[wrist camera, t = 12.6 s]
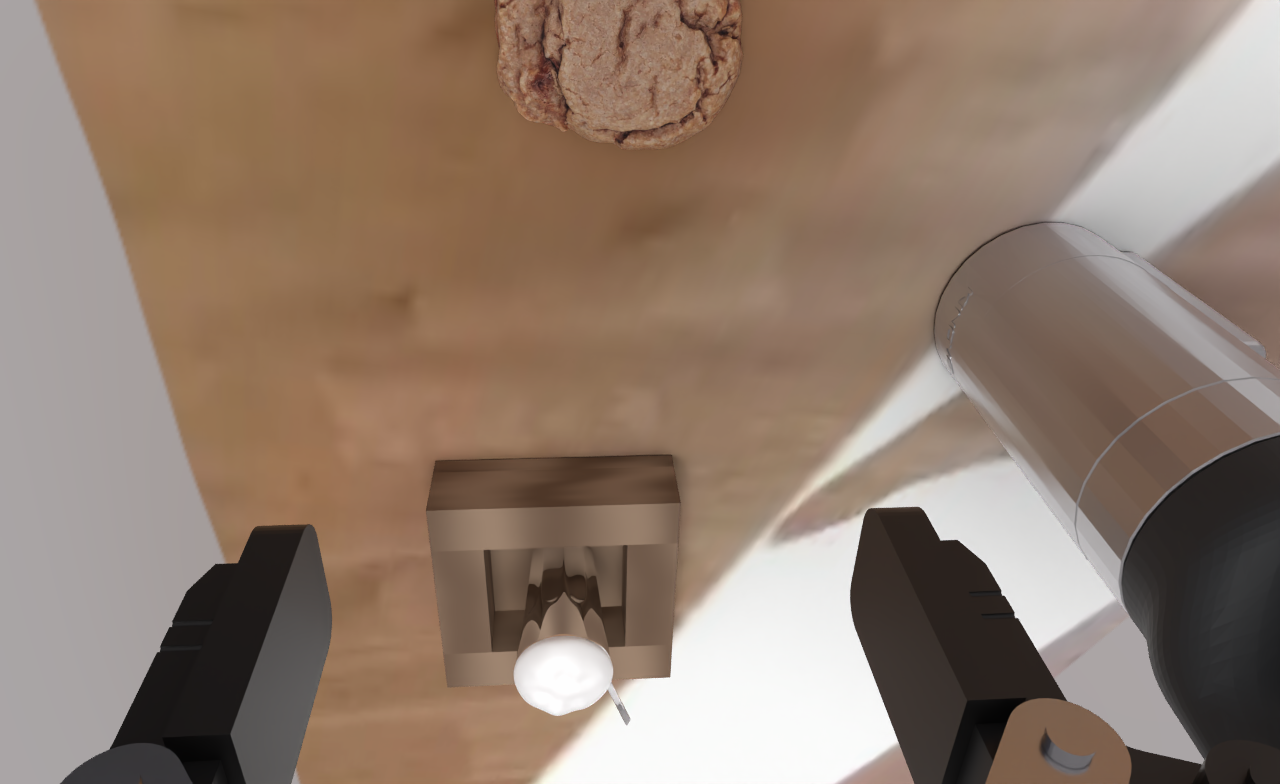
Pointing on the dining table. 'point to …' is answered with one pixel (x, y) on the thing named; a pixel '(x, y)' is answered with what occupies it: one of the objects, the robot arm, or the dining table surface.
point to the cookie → (620, 65)
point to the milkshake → (564, 635)
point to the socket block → (548, 518)
